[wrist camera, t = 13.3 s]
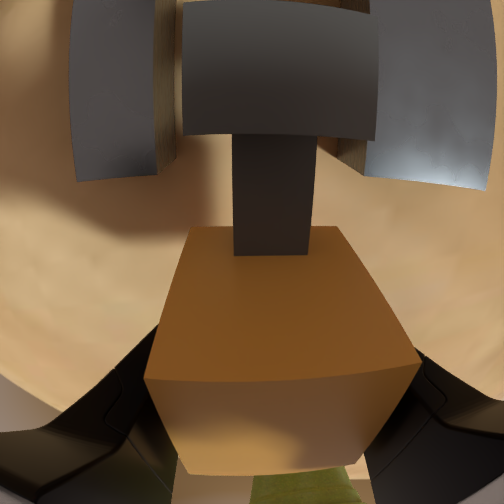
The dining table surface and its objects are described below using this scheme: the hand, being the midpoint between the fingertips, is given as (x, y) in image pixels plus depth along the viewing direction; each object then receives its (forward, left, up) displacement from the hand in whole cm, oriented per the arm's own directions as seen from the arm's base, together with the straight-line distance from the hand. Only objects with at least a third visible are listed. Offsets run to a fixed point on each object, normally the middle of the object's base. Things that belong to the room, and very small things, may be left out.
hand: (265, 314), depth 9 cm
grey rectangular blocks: (+1, +9, -5) cm, 11 cm away
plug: (0, +3, -1) cm, 3 cm away
